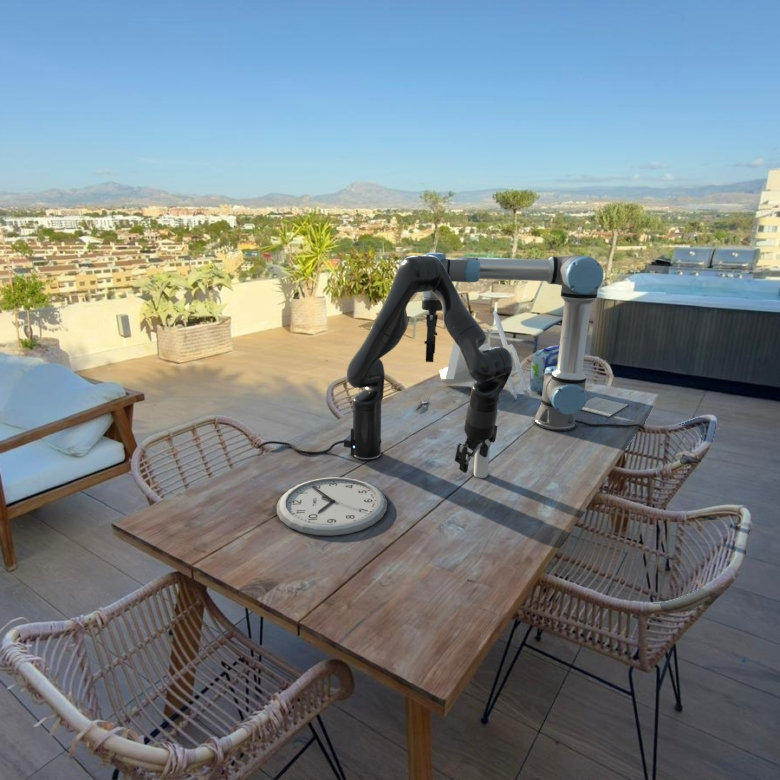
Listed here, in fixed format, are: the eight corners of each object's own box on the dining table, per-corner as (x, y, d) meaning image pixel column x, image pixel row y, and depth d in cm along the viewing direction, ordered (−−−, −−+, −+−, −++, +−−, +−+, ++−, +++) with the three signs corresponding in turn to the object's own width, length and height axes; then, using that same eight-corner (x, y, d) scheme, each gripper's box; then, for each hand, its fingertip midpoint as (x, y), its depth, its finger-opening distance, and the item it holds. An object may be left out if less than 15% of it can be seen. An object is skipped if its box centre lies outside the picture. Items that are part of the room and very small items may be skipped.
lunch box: (546, 398, 236) (551, 353, 229) (525, 393, 243) (529, 349, 237) (573, 387, 253) (579, 344, 247) (553, 382, 260) (558, 341, 254)
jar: (483, 479, 159) (487, 430, 154) (471, 475, 161) (474, 426, 157) (489, 474, 163) (493, 425, 158) (477, 470, 165) (480, 422, 160)
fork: (413, 411, 216) (413, 406, 216) (424, 399, 231) (424, 395, 230) (419, 411, 216) (419, 407, 215) (429, 400, 230) (429, 396, 229)
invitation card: (608, 416, 214) (573, 407, 224) (608, 416, 214) (573, 408, 224) (628, 404, 229) (594, 396, 238) (628, 405, 229) (594, 397, 238)
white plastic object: (461, 429, 252) (437, 405, 227) (444, 352, 274) (420, 323, 250) (535, 404, 240) (518, 377, 215) (510, 326, 262) (492, 293, 237)
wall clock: (392, 527, 129) (268, 531, 127) (391, 533, 130) (269, 537, 127) (383, 473, 158) (282, 475, 155) (383, 478, 158) (282, 480, 156)
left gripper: (486, 399, 139) (478, 444, 149) (451, 423, 131) (445, 468, 141) (509, 412, 135) (500, 457, 144) (475, 438, 127) (467, 483, 136)
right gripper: (424, 293, 195) (422, 349, 202) (419, 302, 172) (417, 365, 178) (444, 294, 195) (441, 350, 201) (442, 303, 171) (439, 366, 177)
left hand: (473, 463), depth 143 cm, fingers open, 8 cm apart
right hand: (430, 357), depth 190 cm, fingers open, 13 cm apart
